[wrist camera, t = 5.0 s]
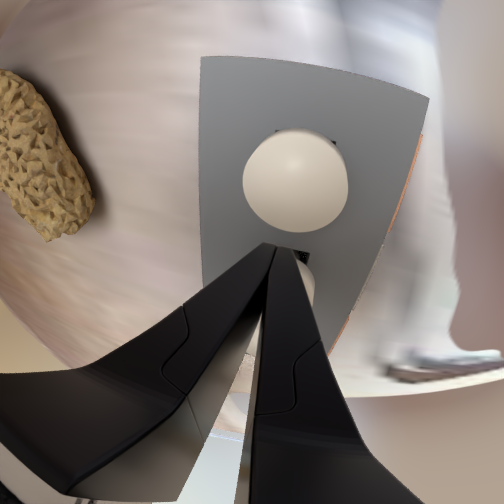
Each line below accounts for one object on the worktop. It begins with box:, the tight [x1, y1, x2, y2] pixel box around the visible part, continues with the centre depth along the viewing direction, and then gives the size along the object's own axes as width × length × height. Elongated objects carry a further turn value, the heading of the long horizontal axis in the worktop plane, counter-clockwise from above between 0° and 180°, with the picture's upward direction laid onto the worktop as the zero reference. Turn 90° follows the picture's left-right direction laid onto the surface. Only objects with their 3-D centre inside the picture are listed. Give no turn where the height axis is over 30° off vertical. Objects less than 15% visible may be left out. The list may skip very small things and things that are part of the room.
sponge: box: [0, 69, 95, 242], centre depth 17 cm, size 13×8×20 cm
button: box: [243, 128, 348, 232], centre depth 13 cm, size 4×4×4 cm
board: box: [199, 56, 429, 356], centre depth 19 cm, size 24×11×3 cm, turn 176°
